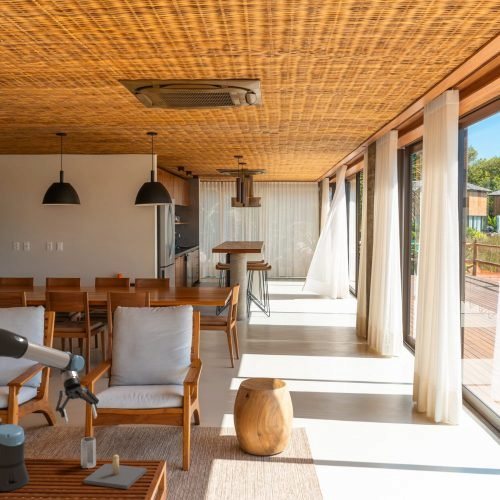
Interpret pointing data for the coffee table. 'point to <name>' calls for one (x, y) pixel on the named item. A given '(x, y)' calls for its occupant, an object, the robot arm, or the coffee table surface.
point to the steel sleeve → (88, 452)
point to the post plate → (115, 475)
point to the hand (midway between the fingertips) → (81, 420)
